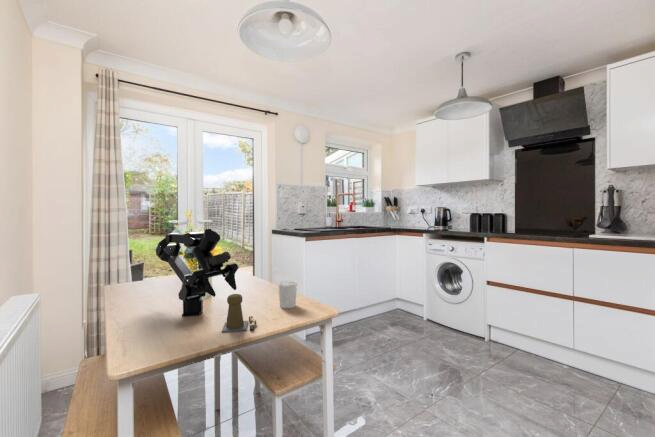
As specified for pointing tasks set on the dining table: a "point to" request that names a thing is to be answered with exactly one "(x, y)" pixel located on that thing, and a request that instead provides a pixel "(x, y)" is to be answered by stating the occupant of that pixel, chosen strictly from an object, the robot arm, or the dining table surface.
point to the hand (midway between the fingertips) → (225, 292)
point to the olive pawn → (234, 312)
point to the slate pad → (235, 329)
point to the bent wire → (252, 323)
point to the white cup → (287, 294)
